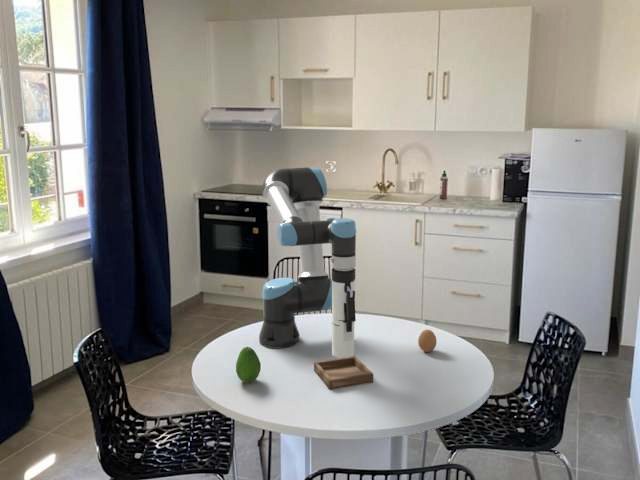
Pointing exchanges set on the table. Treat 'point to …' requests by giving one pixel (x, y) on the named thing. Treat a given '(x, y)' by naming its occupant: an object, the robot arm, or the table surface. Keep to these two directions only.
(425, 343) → the egg
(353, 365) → the tray
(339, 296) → the cylindrical container
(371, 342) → the table surface
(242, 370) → the avocado
